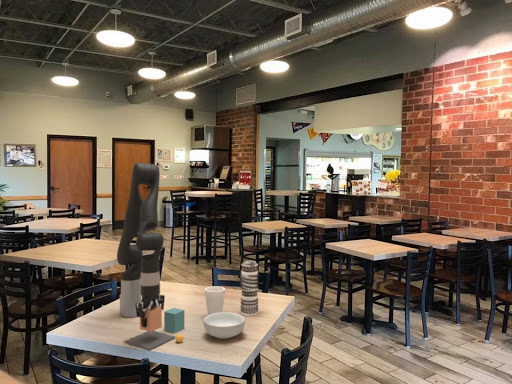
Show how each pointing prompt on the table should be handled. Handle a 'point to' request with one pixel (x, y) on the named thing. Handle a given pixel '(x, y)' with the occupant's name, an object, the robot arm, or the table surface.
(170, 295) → the table surface
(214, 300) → the foam cup
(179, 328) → the seafoam square box
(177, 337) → the orange ball
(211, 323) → the cereal bowl
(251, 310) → the decorative candle
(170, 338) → the charcoal mat
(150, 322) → the salmon pink cube
